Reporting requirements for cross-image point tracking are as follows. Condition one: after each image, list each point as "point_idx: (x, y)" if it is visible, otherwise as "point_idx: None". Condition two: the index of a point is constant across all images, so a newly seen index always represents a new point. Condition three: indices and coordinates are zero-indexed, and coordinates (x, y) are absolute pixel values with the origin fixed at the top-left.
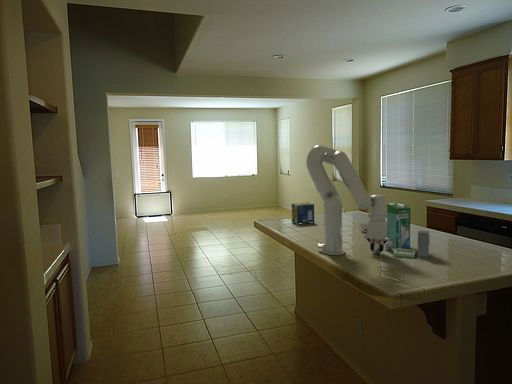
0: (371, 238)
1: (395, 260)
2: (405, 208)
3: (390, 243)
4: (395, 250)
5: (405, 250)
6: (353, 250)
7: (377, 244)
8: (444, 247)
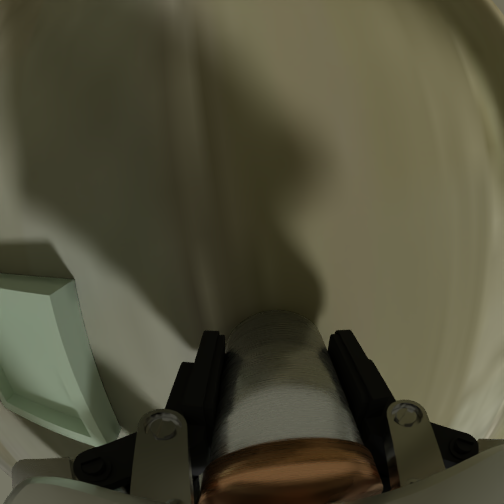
0: (463, 466)
1: (42, 120)
2: None
3: None
4: (74, 389)
5: (45, 413)
6: (467, 356)
7: (269, 406)
8: None
